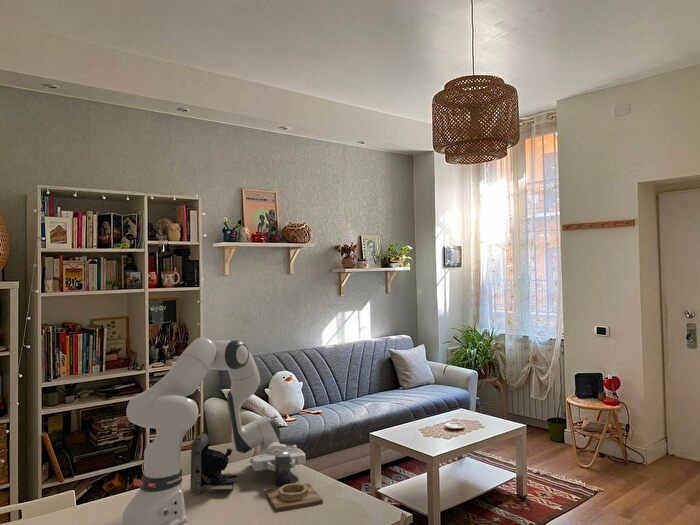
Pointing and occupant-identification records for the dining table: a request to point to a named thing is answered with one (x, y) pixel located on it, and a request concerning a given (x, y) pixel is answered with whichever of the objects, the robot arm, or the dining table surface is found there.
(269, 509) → the dining table surface
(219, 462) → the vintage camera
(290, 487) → the mount
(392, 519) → the dining table surface
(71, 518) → the dining table surface
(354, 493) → the dining table surface
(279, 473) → the canister
